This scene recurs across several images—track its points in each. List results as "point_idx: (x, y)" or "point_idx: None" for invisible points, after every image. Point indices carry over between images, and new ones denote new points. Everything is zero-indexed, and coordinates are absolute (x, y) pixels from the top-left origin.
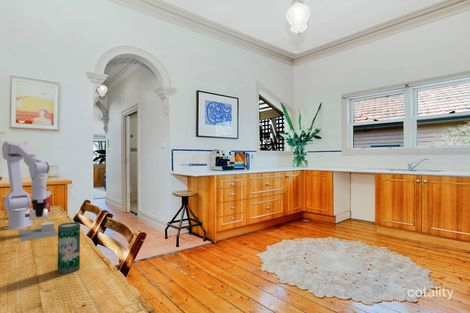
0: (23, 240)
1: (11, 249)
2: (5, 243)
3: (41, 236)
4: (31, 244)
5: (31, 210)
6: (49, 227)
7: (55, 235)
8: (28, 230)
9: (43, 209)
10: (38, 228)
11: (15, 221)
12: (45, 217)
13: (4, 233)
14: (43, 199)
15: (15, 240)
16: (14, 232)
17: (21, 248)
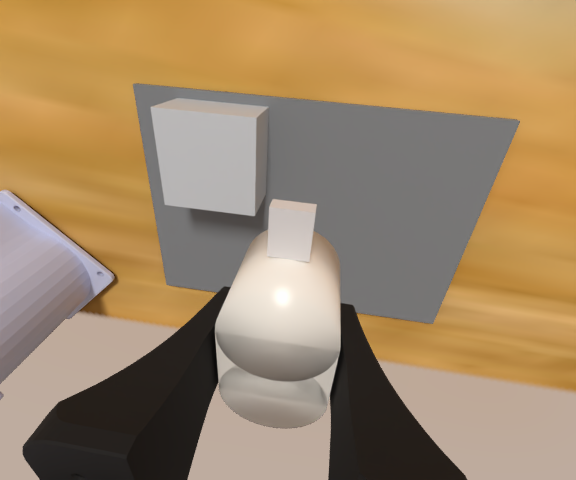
0: (424, 312)
1: (531, 366)
2: (384, 358)
3: (422, 228)
4: (539, 297)
5: (253, 413)
6: (262, 150)
7: (492, 148)
8: (182, 247)
9: (382, 373)
10: (155, 191)
11: (59, 315)
12: (336, 259)
13: (165, 326)
14: (62, 459)
15: (362, 325)
16: (169, 295)
17: (566, 341)
